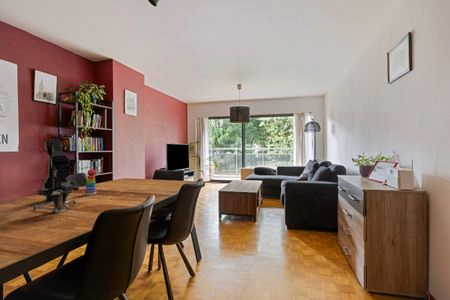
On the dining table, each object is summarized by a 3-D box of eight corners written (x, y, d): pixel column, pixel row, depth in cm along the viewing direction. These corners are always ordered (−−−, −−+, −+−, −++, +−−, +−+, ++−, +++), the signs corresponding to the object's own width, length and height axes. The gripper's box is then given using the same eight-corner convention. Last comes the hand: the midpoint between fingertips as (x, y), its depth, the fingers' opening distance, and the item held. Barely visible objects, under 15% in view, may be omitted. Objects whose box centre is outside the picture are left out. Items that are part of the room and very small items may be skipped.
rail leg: (32, 209, 134) (32, 205, 134) (67, 202, 152) (67, 198, 152) (42, 211, 131) (42, 207, 131) (76, 203, 149) (76, 199, 149)
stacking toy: (91, 195, 172) (91, 169, 172) (81, 195, 174) (81, 169, 173) (99, 193, 180) (99, 168, 180) (89, 193, 181) (89, 168, 181)
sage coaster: (51, 211, 130) (51, 211, 130) (60, 209, 135) (60, 208, 135) (57, 212, 128) (57, 212, 128) (67, 210, 133) (67, 209, 133)
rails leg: (33, 209, 133) (33, 205, 133) (48, 206, 141) (48, 202, 141) (53, 213, 127) (53, 208, 127) (68, 209, 135) (68, 205, 135)
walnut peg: (54, 209, 131) (54, 195, 131) (60, 208, 134) (60, 194, 134) (58, 210, 130) (58, 195, 129) (64, 208, 133) (64, 194, 132)
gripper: (51, 180, 120) (51, 211, 120) (85, 176, 137) (85, 203, 137) (37, 179, 124) (37, 209, 124) (71, 175, 141) (71, 201, 141)
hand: (59, 205), depth 132 cm, fingers closed on walnut peg, 3 cm apart
